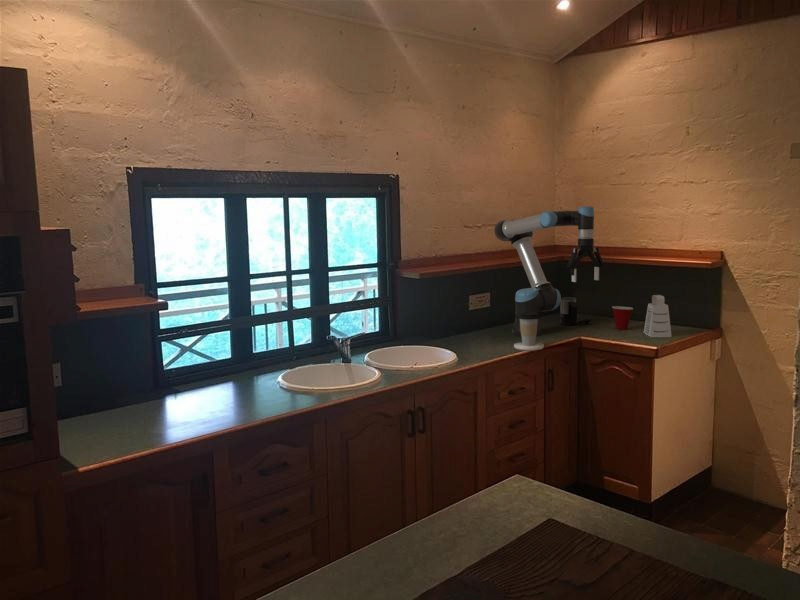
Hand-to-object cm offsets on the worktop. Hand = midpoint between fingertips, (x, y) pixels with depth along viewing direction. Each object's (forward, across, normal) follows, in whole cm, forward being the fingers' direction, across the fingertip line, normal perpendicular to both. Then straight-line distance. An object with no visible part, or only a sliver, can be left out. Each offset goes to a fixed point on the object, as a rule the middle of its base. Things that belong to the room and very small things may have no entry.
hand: (585, 281), depth 341 cm
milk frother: (+29, +21, +35) cm, 50 cm away
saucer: (+29, -36, -6) cm, 47 cm away
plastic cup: (+29, +32, +10) cm, 44 cm away
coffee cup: (+28, -36, -6) cm, 46 cm away
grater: (+29, +36, -12) cm, 47 cm away
